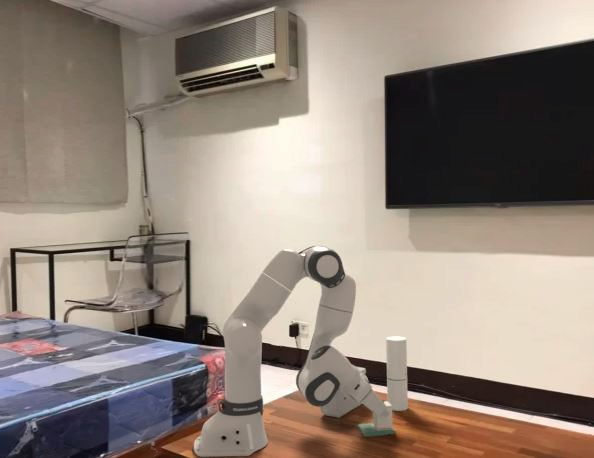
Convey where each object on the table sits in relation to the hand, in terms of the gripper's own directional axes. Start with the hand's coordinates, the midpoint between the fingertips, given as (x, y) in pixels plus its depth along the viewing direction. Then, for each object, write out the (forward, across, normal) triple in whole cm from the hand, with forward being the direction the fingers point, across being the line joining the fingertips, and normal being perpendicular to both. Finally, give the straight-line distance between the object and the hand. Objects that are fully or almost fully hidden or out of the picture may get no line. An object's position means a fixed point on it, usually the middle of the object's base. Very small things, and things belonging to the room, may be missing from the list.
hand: (384, 411), depth 176 cm
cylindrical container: (+13, -19, +4) cm, 23 cm away
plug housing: (+3, 0, -4) cm, 4 cm away
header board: (+2, 0, -6) cm, 6 cm away
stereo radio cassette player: (-1, -22, -9) cm, 24 cm away
